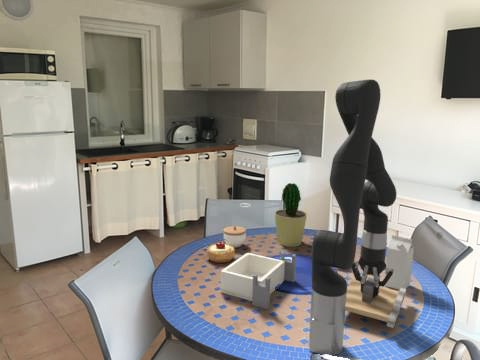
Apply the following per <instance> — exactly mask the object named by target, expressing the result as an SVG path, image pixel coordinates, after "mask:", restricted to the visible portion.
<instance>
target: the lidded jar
mask: <svg viewBox="0 0 480 360" xmlns="http://www.w3.org/2000/svg"><path fill="white" fill-rule="evenodd" d="M246 236H247V229H246V228H245V227H243V226H236V225H234V226H232V225H231V226H227V227H225V228H223V240H224V239H226V240H227V241H228V242H227V241H226V240H224V242H225V244H228V245H231V246H233V247H234V249H235V248H241V246H242V245H243V244H244V243H245V241H246V238H247V237H246Z"/></svg>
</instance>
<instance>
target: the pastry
mask: <svg viewBox="0 0 480 360" xmlns="http://www.w3.org/2000/svg"><path fill="white" fill-rule="evenodd" d="M225 240H226V239H224V238H222V239H221V241H218V242H216V243H215V244H211V245H209V246H208V247H207V249H206V252H207V253H206V254H207V256H208V259H209V260H210V261H211V262H212V263H216V264H225V263H226V264H227V263H229V262H231V261H232V260H233V259H234V257H235V252H236V249H235V248H234V247H233V246H231V245H228V244H227V243H224V242H223V241H225ZM226 241H227V240H226ZM227 242H228V241H227Z"/></svg>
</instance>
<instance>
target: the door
mask: <svg viewBox="0 0 480 360" xmlns="http://www.w3.org/2000/svg"><path fill="white" fill-rule="evenodd" d="M374 286H375V282H374V277H367V280H366V282H365V284H364V286H363V293H362V292H361V282H360V281H357V280H351V282H349V285H347V294H346V307H345V312H349V313H353V314H356V315H361V316H364V317H367V318H371V319H375V320H379V321H381V322H382V321H383V322H385V323H386V327H389V328H392V329H394V328H395V325H396V321H397V319H398V316H399V314H400V311H401V308H402V306H403V303H404V299H405V297H406V294H407V288H406V289H404V288H400V290H397V289H393V288H391V289H390V288H387V287H382V286H380V287H379V294H378V296H376V297H373V292H374Z"/></svg>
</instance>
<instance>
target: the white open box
mask: <svg viewBox="0 0 480 360" xmlns="http://www.w3.org/2000/svg"><path fill="white" fill-rule="evenodd" d="M285 255H286V252H285V251H281V252H280V259H277V258H274V257H273V258H272V257H269V256H264V255H259V254H256V253H255V254H254V253H251V252H250V253H249V252H247V253H245V254H244V255H242V256H240V257H239V258H238V259H236V260H235V261H233V262H232V263H230V264H229V265H228V266H226V267H225V268H223V269H222V270H220V293H222V294H225V295H226V294H227V295H228V296H232V297H237V298H241V299H244V300H246V301H251V303H252V304H251V306H255V307H258V308H261V309H266V310H268V309H270V307H271V305H270V303H271V301H270V300H271V299H270V298H271V295H272V293H273V292H275V290H276V289H275V287H276V285H278V284H280V285H282V284H283V282H285V281H288V282H290V283H295V281H296V268H297V267H296V266H297V254H296V253H294V254H292V255H291V260H288V259H285Z"/></svg>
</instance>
